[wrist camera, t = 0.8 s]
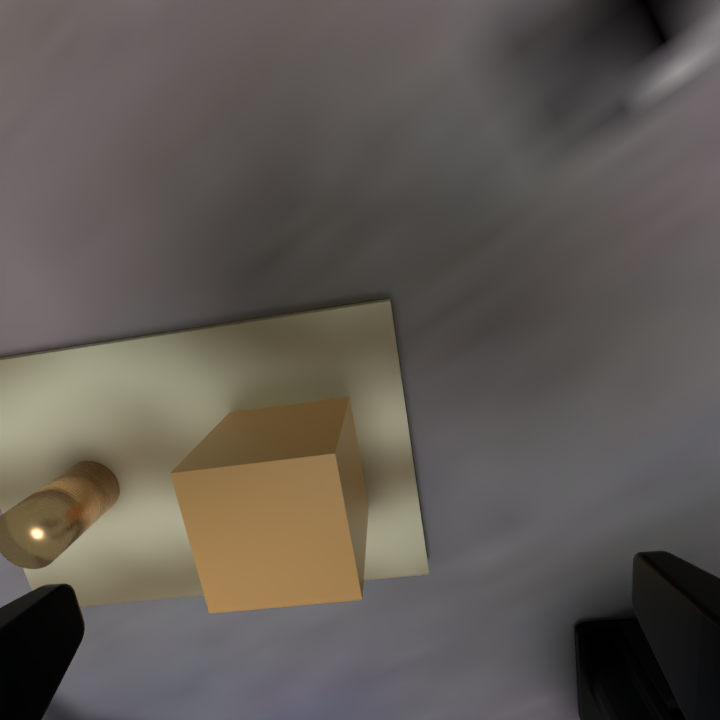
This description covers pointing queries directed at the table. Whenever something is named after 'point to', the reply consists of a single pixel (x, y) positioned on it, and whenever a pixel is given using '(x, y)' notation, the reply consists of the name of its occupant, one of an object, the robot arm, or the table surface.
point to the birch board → (200, 435)
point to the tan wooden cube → (277, 507)
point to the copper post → (57, 514)
